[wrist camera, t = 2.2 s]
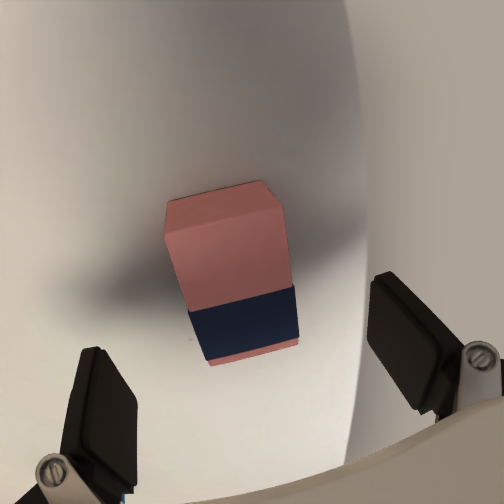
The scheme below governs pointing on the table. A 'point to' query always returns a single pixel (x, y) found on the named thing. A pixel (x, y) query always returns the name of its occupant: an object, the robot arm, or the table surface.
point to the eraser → (234, 271)
